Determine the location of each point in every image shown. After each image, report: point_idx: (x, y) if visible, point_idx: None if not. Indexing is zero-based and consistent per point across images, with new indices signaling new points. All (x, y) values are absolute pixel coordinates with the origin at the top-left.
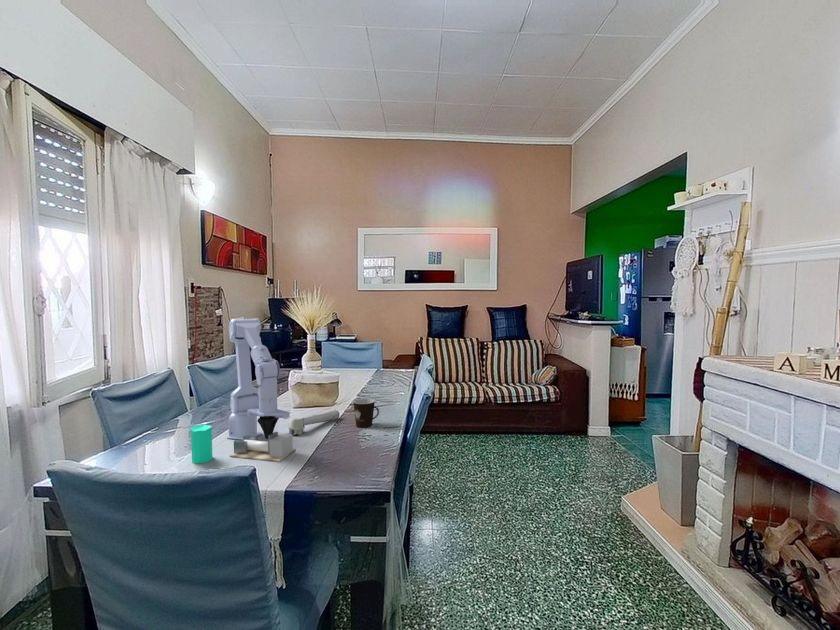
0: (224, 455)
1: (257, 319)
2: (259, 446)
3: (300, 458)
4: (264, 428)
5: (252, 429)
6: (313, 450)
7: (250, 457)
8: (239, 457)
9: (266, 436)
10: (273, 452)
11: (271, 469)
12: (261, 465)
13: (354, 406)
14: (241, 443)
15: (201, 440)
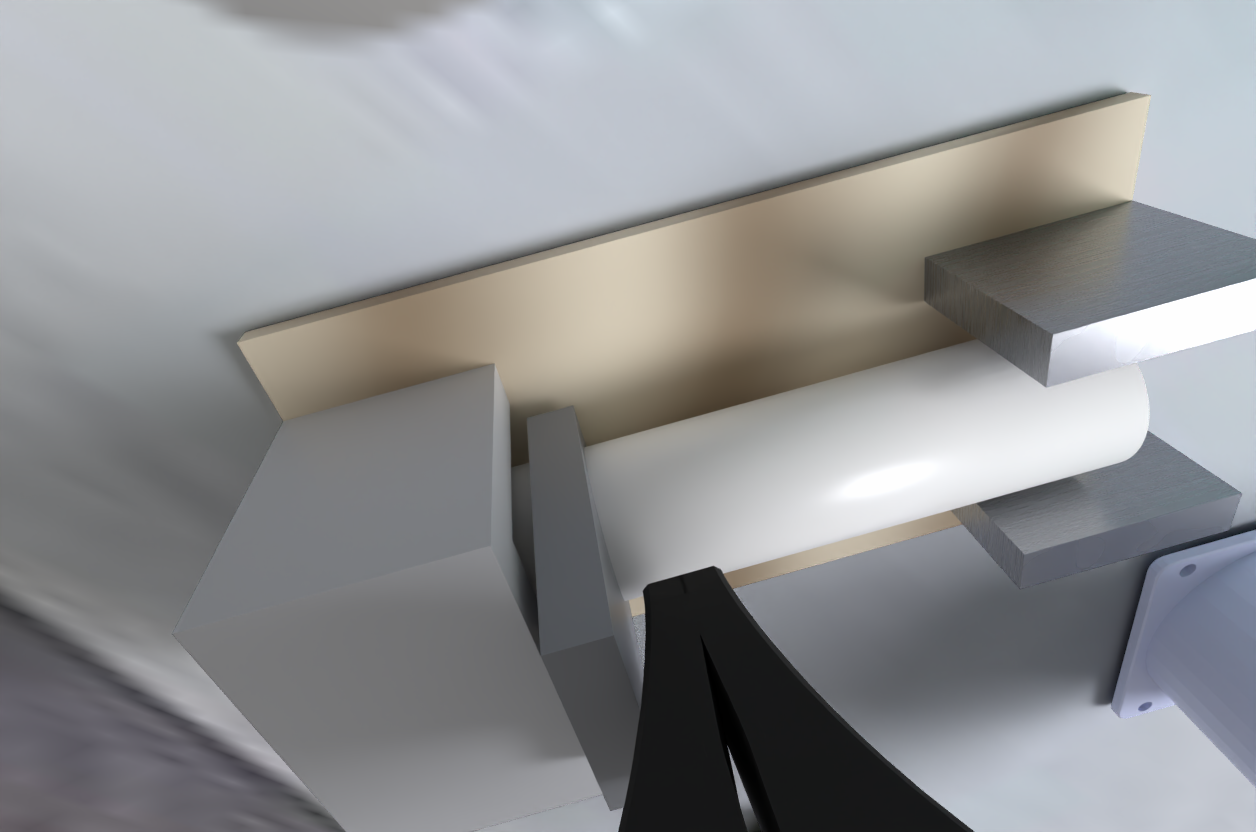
0: (1239, 92)
1: None
2: (776, 428)
3: (118, 556)
4: (774, 771)
5: (1236, 694)
6: (247, 744)
7: (759, 199)
8: (955, 141)
9: (689, 612)
10: (420, 422)
11: (5, 38)
12: (357, 88)
13: None
14: (1122, 298)
15: None
